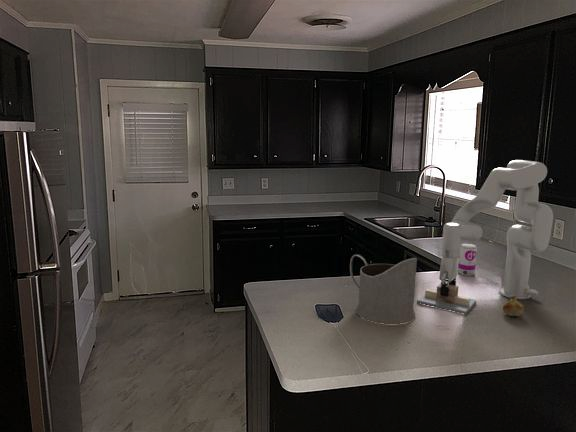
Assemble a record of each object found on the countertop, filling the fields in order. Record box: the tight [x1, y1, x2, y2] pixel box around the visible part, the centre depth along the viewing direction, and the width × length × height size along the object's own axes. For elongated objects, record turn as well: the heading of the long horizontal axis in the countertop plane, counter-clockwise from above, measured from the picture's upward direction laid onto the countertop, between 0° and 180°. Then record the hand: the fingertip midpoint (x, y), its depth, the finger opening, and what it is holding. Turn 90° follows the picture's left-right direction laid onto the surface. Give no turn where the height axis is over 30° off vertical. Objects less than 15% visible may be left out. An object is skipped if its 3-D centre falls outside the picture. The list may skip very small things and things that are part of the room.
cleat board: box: [416, 289, 477, 315], centre depth 199 cm, size 20×16×4 cm
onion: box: [502, 296, 525, 317], centre depth 187 cm, size 8×8×8 cm
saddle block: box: [436, 283, 459, 304], centre depth 199 cm, size 7×6×6 cm
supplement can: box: [457, 242, 478, 277], centre depth 240 cm, size 8×8×15 cm
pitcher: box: [349, 254, 418, 324], centre depth 189 cm, size 23×32×25 cm
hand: (447, 292), depth 199 cm, fingers open, 9 cm apart
